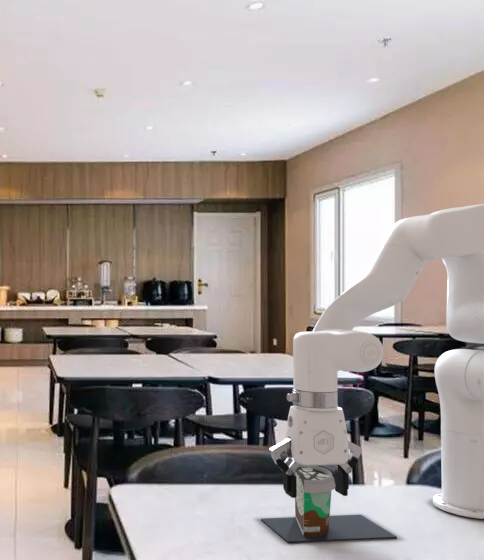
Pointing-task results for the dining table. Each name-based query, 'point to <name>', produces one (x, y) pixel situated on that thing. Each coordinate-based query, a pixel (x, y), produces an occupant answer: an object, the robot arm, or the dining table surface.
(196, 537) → the dining table surface
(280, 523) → the mat
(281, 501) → the dining table surface
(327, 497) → the food container
